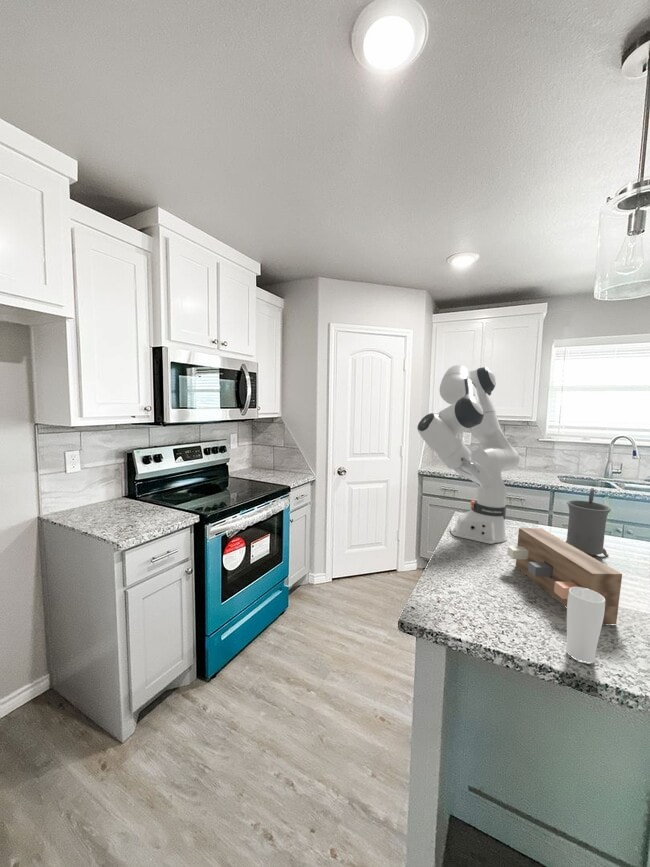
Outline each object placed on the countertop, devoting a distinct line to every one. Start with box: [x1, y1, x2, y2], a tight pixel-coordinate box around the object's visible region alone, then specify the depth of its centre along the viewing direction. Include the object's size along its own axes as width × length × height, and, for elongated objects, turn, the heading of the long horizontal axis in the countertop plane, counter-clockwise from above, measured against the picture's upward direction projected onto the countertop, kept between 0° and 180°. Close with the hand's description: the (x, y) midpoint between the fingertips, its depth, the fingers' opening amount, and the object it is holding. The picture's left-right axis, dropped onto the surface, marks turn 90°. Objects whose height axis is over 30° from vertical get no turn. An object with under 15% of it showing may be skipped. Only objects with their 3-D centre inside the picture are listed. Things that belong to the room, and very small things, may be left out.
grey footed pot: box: [565, 487, 612, 558], centre depth 140 cm, size 19×15×25 cm
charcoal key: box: [528, 562, 553, 577], centre depth 110 cm, size 6×4×3 cm, turn 92°
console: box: [515, 527, 623, 625], centre depth 110 cm, size 8×33×14 cm, turn 2°
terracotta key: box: [554, 582, 581, 599], centre depth 98 cm, size 6×4×3 cm, turn 92°
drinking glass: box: [565, 587, 605, 662], centre depth 81 cm, size 7×7×15 cm
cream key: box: [506, 545, 529, 560], centre depth 122 cm, size 6×4×3 cm, turn 92°
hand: (483, 486), depth 119 cm, fingers open, 3 cm apart
